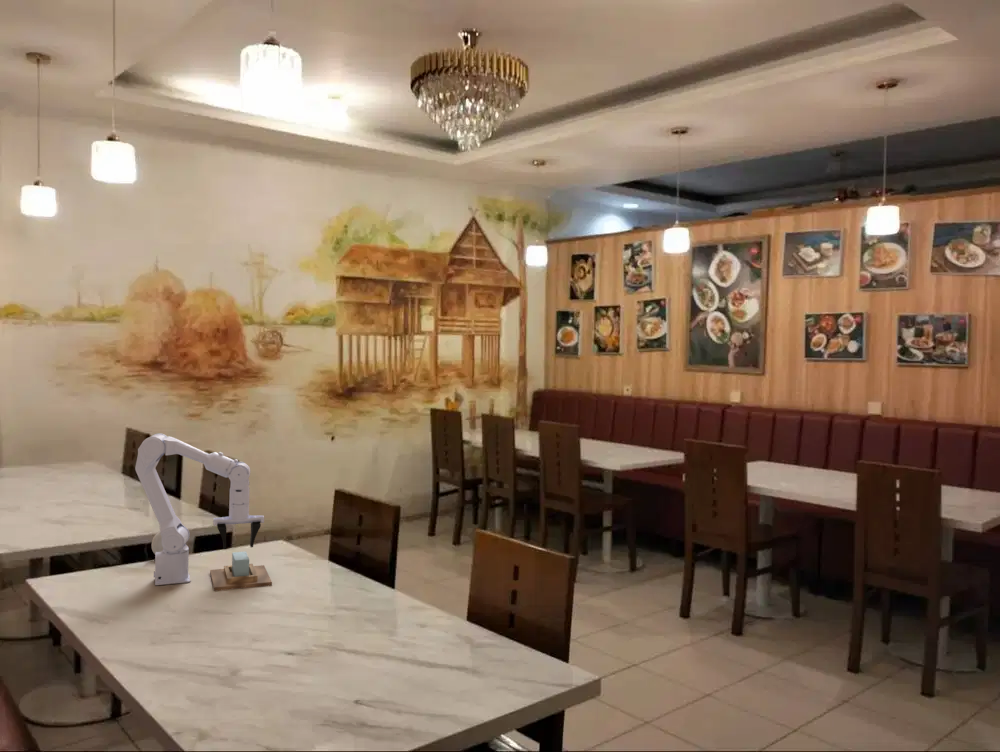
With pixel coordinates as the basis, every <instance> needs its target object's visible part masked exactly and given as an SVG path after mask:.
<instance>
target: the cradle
mask: <svg viewBox="0 0 1000 752" xmlns="http://www.w3.org/2000/svg"><path fill="white" fill-rule="evenodd" d="M209 572H210V573H209V574H210V578H211V582H212V588H213V591H214V592H216V591H218V592H219V591H227V590H237V589H247V588H257V587H268V585H269V586H272V585H273V581H272V579H271V577H270V575H269V573H268V571H267V568H266V567H265V565H264V564H263V565H262V564H261V565H254V564H253V563H249V576H238V577H233V574H232V564H230V565H224V566H223V568H217V569H209Z"/></svg>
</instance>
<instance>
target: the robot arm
mask: <svg viewBox="0 0 1000 752" xmlns="http://www.w3.org/2000/svg"><path fill="white" fill-rule="evenodd" d="M164 455H165V456H172V455H180V456H182V457H185V458H187V459H190V460H193V461H194V462H198V463H201V464H203V466H204V468H205V470H207V471H209V472H211V473H214V474H216V475H219V476H221V477H223V478H228V479H229V481H230V488H229V501H228V502H229V505H228V509H229V510H228V516H222V517H213V519H212V520H213V521H212V524H213V526H215V527H217V530H218V532H219V534H220V537H221V541H222V545H223V550H227V525H239V524H250V539H249V540H250V541H249V546H250V548H254V544H255V540H256V537H257V534H258V533H259V530H260V528H261V524H264V523H265V516H264V514H263V515H257V514H256V515H255V514H254V515H253V514H252V515H251V514H250V494H251V493H250V491H251V490H250V476H251V467H250V465H248V464H247V463H246V462H244V461H239V460H238V459H236V458H234V459H233V458H230V457H228V456H226V455H224V452H221V451H219V452H216V451H214V452H211V453H208V452H206V451H203V450H201V449H200V448H197V447H195V446H192V444H189V443H187V442H185V441H182V440H180V439H178V438H176V437H174V436H170V435H168V436H167V435H166V434H164V433H155V434H153V435H151V436H149V437H147V438H145V439H144V440H143V441H142V443H141V444H140V446H139V447H138V448H137V458H136V461H135V468H134V470H135V473H136V474H137V477H138V480H139V482H140V484H141V486H142V488H143V490H144V493H145V494H146V495H145V496H146V497H147V499H148V502H149V504H150V506H151V508H152V511H153V513H154V515H155V518H156V520H157V522H158V524H159V531H160V534H161V536H162V547H163V549H162V551H161V552H156V553H155V554H154V555H155V556H154V557H155V558H154V566H155V567H154V571H153V578H154V585H155V586H162V585H174V584H175V585H176V584H183V583H184V584H185V583H191V576H190V573H189V562H190V561H189V559H190V558H189V557H190V555H189V552H190V551H189V550H190V549H189V546H188V545H187V542H188V541H189V539H190V535H191V534H190V533H191V532H190V530H189V528H188V527H186V526H185V525H184V524H183V523H182V520H181V519H180V518H179V517H178V516H177V514H176V513H175V509H174V507H173V506H172V503H171V500H170V498H169V496H168V494H167V492H166V490H165V487H164V485H163V482H162V481H161V478H160V476H159V473H158V472H157V471H158V470H157V469H156V467H157V466H158V464H159V462H160V460H161V458H162V457H163V456H164Z"/></svg>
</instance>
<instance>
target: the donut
mask: <svg viewBox="0 0 1000 752" xmlns="http://www.w3.org/2000/svg"><path fill="white" fill-rule="evenodd" d="M162 549H163V547H162V536H161V534H160V530H159V531H157V532H156V534H154V536H153V538H152V540H151V550H152V552H153V554H154V555H155V553H156V552H161V551H162Z"/></svg>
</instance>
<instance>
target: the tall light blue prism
mask: <svg viewBox="0 0 1000 752" xmlns="http://www.w3.org/2000/svg"><path fill="white" fill-rule="evenodd" d="M231 556H232V557H231V565H232V574H233V577H238V576H249V564H250V558H249V555H248V553H247V551H235V552H233V551H232V553H231Z"/></svg>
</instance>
